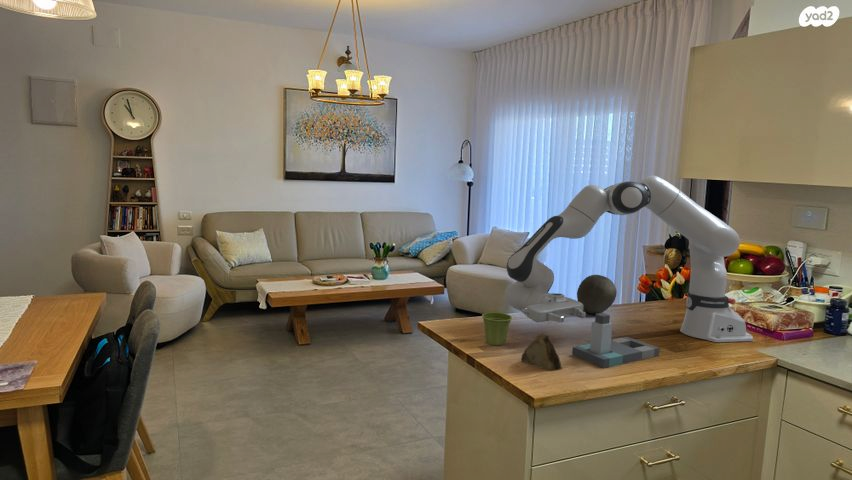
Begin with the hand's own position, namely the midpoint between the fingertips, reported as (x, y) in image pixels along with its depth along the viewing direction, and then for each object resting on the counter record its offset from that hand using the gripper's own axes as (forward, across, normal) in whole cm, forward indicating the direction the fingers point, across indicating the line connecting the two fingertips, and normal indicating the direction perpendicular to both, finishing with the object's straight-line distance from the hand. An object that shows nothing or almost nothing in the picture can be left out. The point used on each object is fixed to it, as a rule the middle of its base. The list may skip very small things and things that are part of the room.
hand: (573, 317), depth 175 cm
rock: (+8, -21, +9) cm, 24 cm away
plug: (+12, -1, +9) cm, 15 cm away
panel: (+12, +6, +9) cm, 16 cm away
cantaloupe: (-25, +39, +12) cm, 48 cm away
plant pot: (-13, -19, +10) cm, 25 cm away
